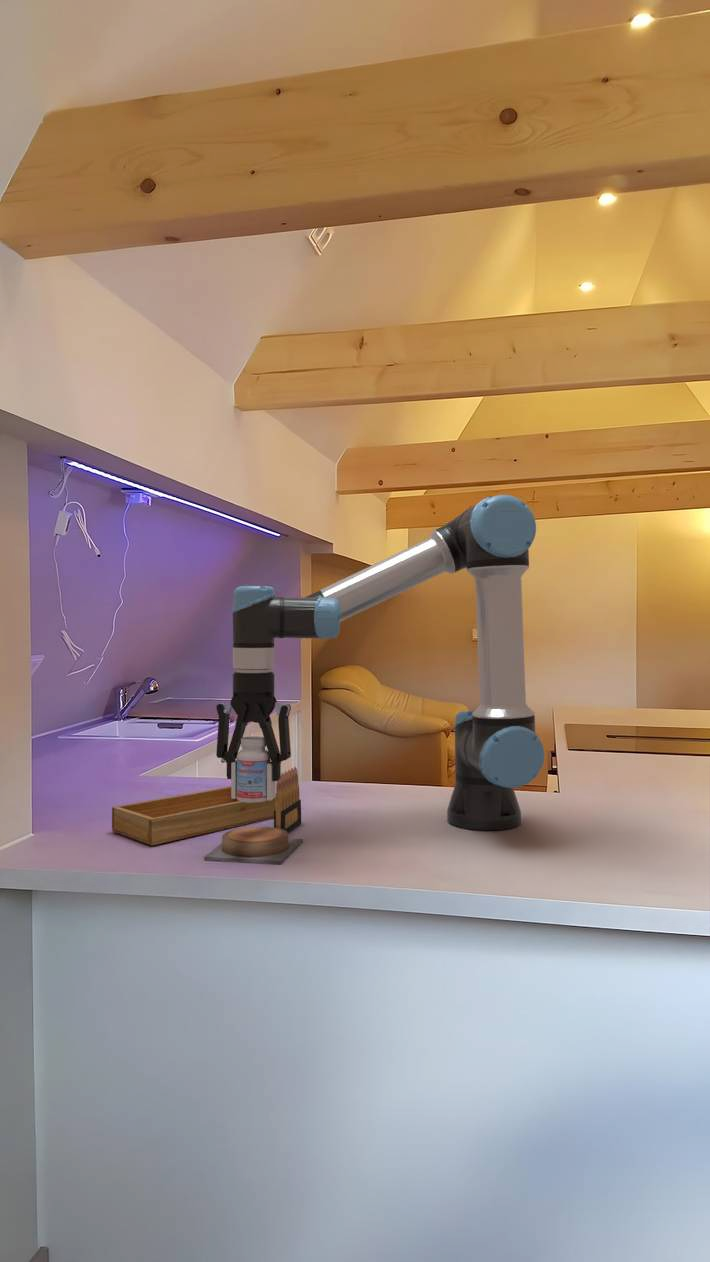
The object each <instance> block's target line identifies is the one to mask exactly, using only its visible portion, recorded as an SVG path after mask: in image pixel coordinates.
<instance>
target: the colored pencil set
mask: <svg viewBox="0 0 710 1262" xmlns="http://www.w3.org/2000/svg"><path fill="white" fill-rule="evenodd" d="M300 825H302V800H301V799H300V784H299V772H298V768H297V767H296V766H294V767H291V769H288V770H287V771H286V770H285V771H284V772H281V777H280V780H278V781H276V797H275V810H274V818H273V827H274V828H279V829H283V830H285V831H287V832H288V834H290V833H291V832H292V831H294V830H295V829H297V828H298V827H299V826H300Z"/></svg>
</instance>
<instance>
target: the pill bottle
mask: <svg viewBox="0 0 710 1262" xmlns="http://www.w3.org/2000/svg"><path fill="white" fill-rule="evenodd" d="M240 748H242V749H241V750H240V751H238V754H237V759H236V760H237V799H238V800H239V801H241V802H246V803H258V802H264V801H267V764H268V763H270V762H271V759H270V756H269V752H268V749H266V748H267V746H266V742H265V739H264V736H243V738H241V744H240Z"/></svg>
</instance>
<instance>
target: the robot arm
mask: <svg viewBox="0 0 710 1262" xmlns="http://www.w3.org/2000/svg"><path fill="white" fill-rule="evenodd" d="M536 532H537V524H536V518H535V516H534V513H533V511H532V510H531V508H530V507H529V505H527V504H526V503H525V502H523V500H521V499H520V498H517V497H515V496H513V495H509V494H498V495H494V496H488V497H486V498H483V499H482V500H480V501H479V502H478V503H477V504H475V505H472V506H470V507H469V508H467V509H466V510H464V511H463V512H462V513H460V514H459V515H458V516H456V517H455V518H453V519H452V520H450V521H449V522H448V523H446V524H444V525H442V526H440V527H438V528H436V529H434V530H432V531H431V534H430V535H429V537H428V538H427V539H424V540H422V541H420V542H419V543H416V544H414V545H412V546H410V547H407V548H406V549H403V550H401V551H399V552H397V553H395V554H393V555H391V556H388V557H387V558H385V559H382V560H380V561H378V562H376V563H374V564H372V565H370V566H367V567H365V568H363V569H362V570H359V571H357V572H355V573H352V574H351V575H349V576H347V577H344V578H343V579H340V580H338V581H337V582H333V583H332V584H329V585H328V586H326V587H324V588H321V589H319V590H318V591H315V592H313V593H311V594H309V595H307V596H305V597H283V596H281V597H279V596H276V593H275V592H276V591H275V588H274V587H272V586H270V585H268V586H267V585H263V586H262V585H241V586H238V587H236V588H235V589H234V591H233V600H232V668H233V670H235V672H233V674H232V697H231V700H230V701H228V702H222V703H218V704H217V705H216V706H215V707H216V712H217V716H218V722H217V723H218V724H217V725H218V727H217V741H216V758H218V759H222V760H224V761H225V762H226V778H227V780H230V781H231V783H230V784H231V785H230V786H231V798H232V799H236V798H237V754H238V753H239V752H240V751H239V750H240V748H241V738H243V737H244V734H245V731H246V727H247V725H248V724H249V723H251V722H252V723H256V724H258V725H259V728H260V729H261V732H262V737H264V739H265V742H266V750H267V751H268V752H269V756H270V763H268V764H267V800H272V799H274V798H275V797H276V784H277V781H278V780H280V777H281V774H282V771H281V770H282V769H281V768H282V767H281V765H282V764H281V763H283V762H284V761H287V760H288V759H290V758H291V757H292V750H291V735H290V720H289V716H290V712H291V709H292V706H291V705H290V704H283V703H280V702H278V700H277V699H276V696H275V673H274V672H273V671H272V670H274V669H275V639H319V640H324V639H334V638H337V637H338V636H339V634H340V630H341V622H342V621H345V620H347V619H349V618H351V617H353V616H355V615H357V614H359V613H361V612H363V611H366V610H368V609H370V608H372V607H375V606H376V605H379V604H381V603H383V602H385V601H387V600H388V599H391V598H393V597H396V596H398V595H399V594H401V593H404V592H406V591H408V590H410V589H412V588H413V587H417V586H418V585H420V584H422V583H425V582H426V581H429V580H430V579H433V578H436V576H439V575H441V574H443V573H449V574H451V575H453V574H454V573H457V572H458V571H461V570H463V569H466V572H467V573H469V575H471V576H472V577H473V579H474V582H475V583H474V584H475V585H474V587H475V607H476V609H475V610H476V633H477V639H476V640H477V659H478V664H477V665H478V681H479V682H478V685H479V687H478V688H479V691H478V692H479V705H478V707H477V708H476V709H475V710H466V711H465V710H462V711H459V712H457V713H456V715H455V717H454V718H455V719H454V726H453V728H454V759H455V760H454V761H455V762H454V763H455V764H454V765H455V769H454V771H455V776H454V777H455V778H454V779H455V780H454V782H455V783H454V787H453V791H452V794H451V797H450V800H449V802H448V806H447V811H446V814H447V815H446V817H447V819H446V820H447V822H448V823H449V824H451V825H453V826H456V827H459V828H463V829H469V830H476V831H477V830H478V831H500V830H501V831H502V830H509V829H513V828H516V827H519V826H520V825H522V810H521V808H520V805H519V802H518V798H517V795H516V792H515V789H516V788H521V787H524V786H527V784H529V783H531V782H532V781H533V780H534V779H535V778H536V777H537V776H538V775H539V774H540V772H541V771H542V768H543V766H544V761H545V749H544V745H543V743H542V740H541V739H540V736H538V734H537V733H536V719H535V718H536V717H535V711H534V710H532V708H530V707H529V706H528V705H527V698H526V697H527V696H526V692H527V691H526V670H525V669H526V668H525V667H526V666H525V647H524V646H525V643H524V641H525V640H524V620H523V619H524V618H523V616H524V615H523V613H524V611H523V591H522V590H523V587H522V577H523V575H524V574H525V573H526V572H527V571H528V570H529V568H530V559H529V558H530V553H529V552H530V551H529V548H530V547H531V546H532V544H533V542H534V540H535V538H536V537H535V536H536ZM232 710H233V711H234V712H235V713H236V715H237V717H236V721H235V723H234V724H235V725H234V726H235V727H234V730H233V733H232V736H231V739H230V743H229V735H230V734H229V733H230V721H231V720H230V715H231V713H232ZM274 710H275V711H276V715H277V716H278V719H277V721H278V737H279V745H278V742H277V737H276V735H275V733H274V728H273V725H272V724H273V723H272V719H271V714H272V713H273V711H274ZM228 745H229V746H228Z"/></svg>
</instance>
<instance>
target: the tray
mask: <svg viewBox="0 0 710 1262" xmlns="http://www.w3.org/2000/svg"><path fill="white" fill-rule="evenodd" d="M274 810H275V798H274V799H272V800H267V801H264V802H258V803H246V802H241V801H239V800H238V799H237V798H236V799H232V798H231V785H229V786H225V787H224V786H223V787H219V788H213V789H212V788H211V789H207V790H201V791H196V792H190V793H185V794H179V795H173V796H172V795H171V796H167V797H161V798H160V797H159V798H156V799H150V800H144V801H139V802H133V803H128V804H121V805H116V806H112V807H111V828H112V829H111V831H112V832H113V833H116V834H119V835H121V836H124V837H127V838H130V839H133V840H135V841H138V842H141V843H145V844H147V845H150V846H156V845H160V844H163V843H165V844H166V843H169V842H173V841H177V840H181V839H187V838H191V837H195V836H200V835H204V834H208V833H209V834H211V833H213V832H217V831H222V830H227V829H231V828H232V829H233V828H237V827H240V826H246V825H250V824H255V823H259V822H258V821H260V822H263V820H264V821H268V819H269V820H274ZM254 822H255V823H254ZM249 823H250V824H249ZM245 824H246V825H245ZM236 826H237V827H236Z"/></svg>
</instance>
